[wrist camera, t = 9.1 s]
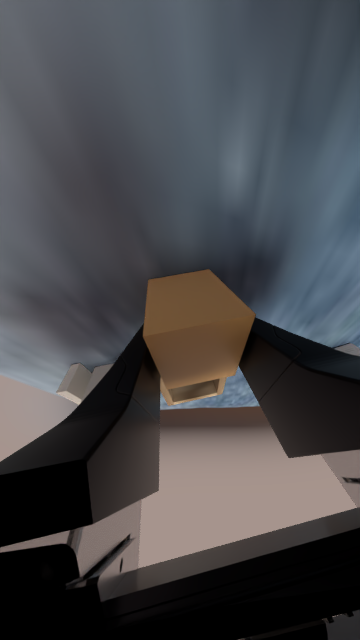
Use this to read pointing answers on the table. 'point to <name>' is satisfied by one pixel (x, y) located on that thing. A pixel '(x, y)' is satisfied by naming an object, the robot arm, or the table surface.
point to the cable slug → (96, 378)
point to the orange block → (195, 328)
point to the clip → (75, 383)
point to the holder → (192, 391)
